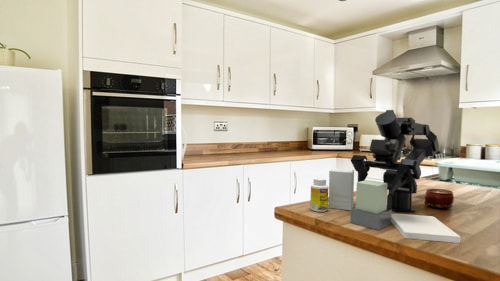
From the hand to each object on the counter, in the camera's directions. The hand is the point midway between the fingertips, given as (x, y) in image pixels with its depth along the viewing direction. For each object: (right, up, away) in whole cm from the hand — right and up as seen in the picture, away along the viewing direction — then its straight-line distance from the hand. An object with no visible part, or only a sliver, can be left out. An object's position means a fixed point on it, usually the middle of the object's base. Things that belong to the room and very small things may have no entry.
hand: (374, 188), depth 82 cm
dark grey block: (-1, -10, -1) cm, 10 cm away
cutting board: (+10, -10, -5) cm, 15 cm away
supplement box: (-4, -9, +16) cm, 19 cm away
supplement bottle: (-13, -9, +12) cm, 20 cm away
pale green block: (-1, -6, -1) cm, 6 cm away
